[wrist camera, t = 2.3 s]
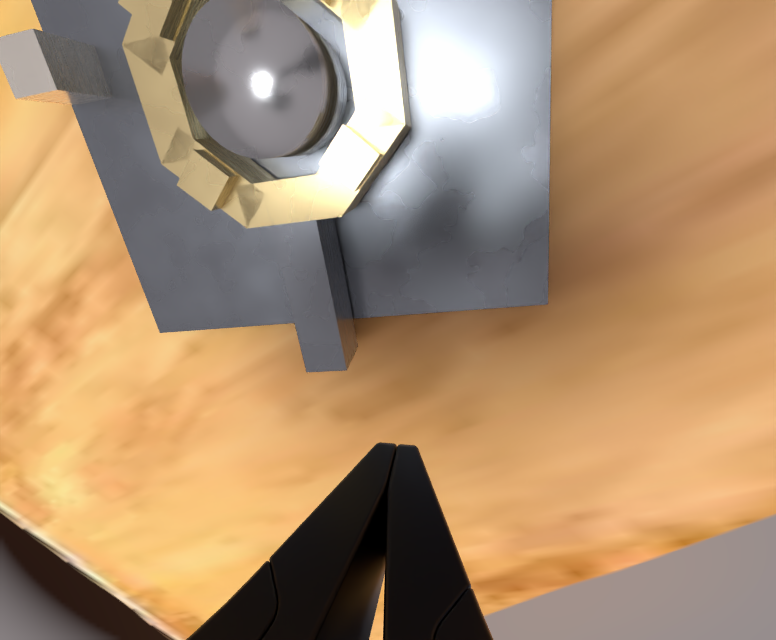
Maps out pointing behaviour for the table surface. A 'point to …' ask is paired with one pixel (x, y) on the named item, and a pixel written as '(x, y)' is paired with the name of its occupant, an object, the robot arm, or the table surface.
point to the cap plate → (319, 151)
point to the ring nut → (292, 194)
